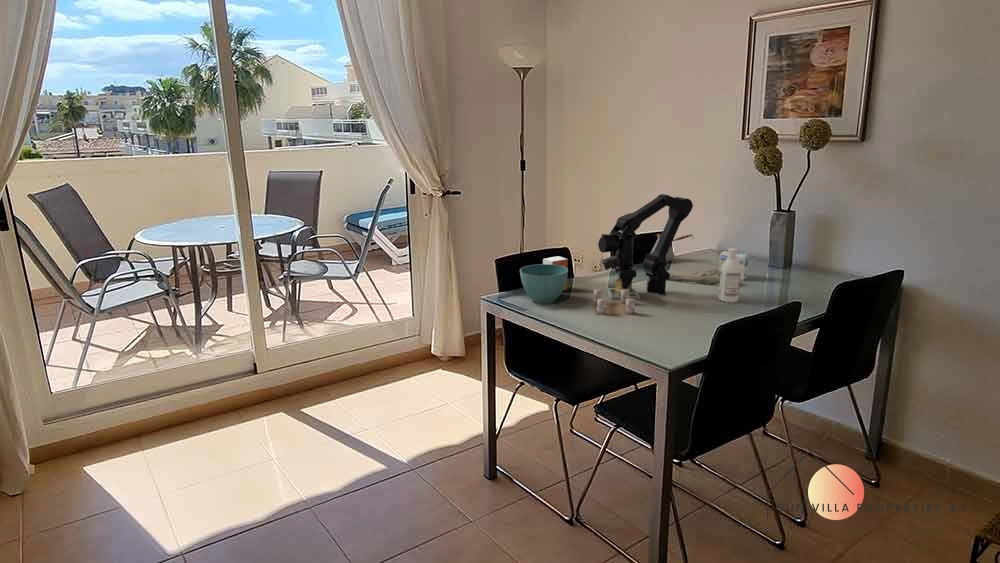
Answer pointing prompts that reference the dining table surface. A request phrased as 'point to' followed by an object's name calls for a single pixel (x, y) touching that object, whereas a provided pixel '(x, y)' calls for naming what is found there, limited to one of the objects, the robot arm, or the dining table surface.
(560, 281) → the teal bowl
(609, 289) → the tray
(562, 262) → the small box
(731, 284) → the bath foam
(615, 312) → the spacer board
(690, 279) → the elongated rock
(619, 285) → the nut
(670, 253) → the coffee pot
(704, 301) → the dining table surface
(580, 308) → the dining table surface
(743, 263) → the light bulb box
